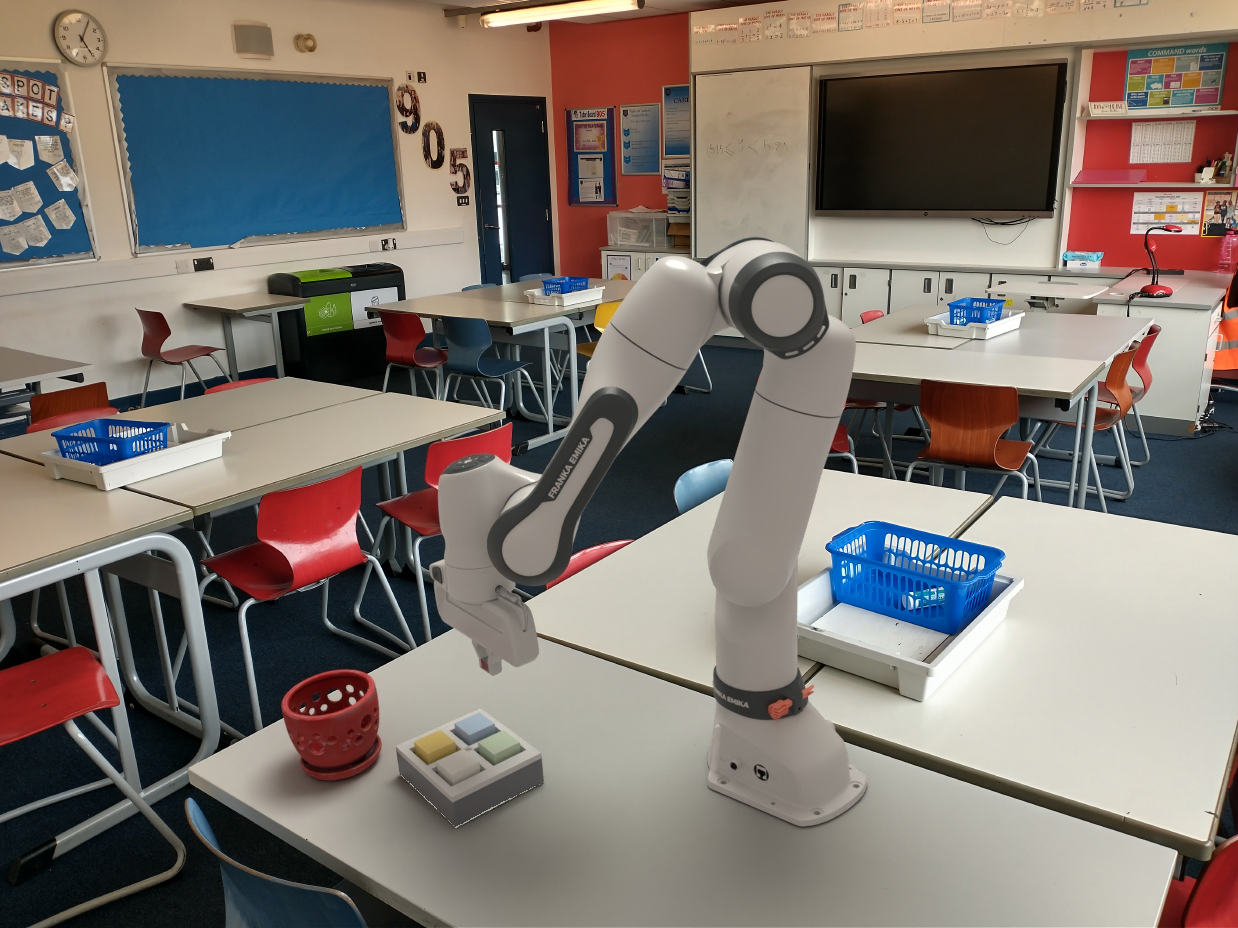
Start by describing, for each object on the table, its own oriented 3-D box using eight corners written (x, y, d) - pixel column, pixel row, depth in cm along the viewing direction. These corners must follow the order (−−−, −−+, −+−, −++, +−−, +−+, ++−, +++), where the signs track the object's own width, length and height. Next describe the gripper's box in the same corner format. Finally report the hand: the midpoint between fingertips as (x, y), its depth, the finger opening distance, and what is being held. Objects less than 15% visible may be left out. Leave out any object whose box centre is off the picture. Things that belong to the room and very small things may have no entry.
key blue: (496, 739, 136) (494, 723, 136) (471, 751, 134) (469, 735, 133) (481, 727, 140) (479, 712, 139) (456, 738, 137) (454, 723, 136)
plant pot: (316, 737, 146) (303, 667, 143) (398, 737, 145) (388, 667, 141) (278, 789, 134) (264, 715, 130) (367, 791, 132) (356, 715, 129)
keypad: (544, 782, 132) (541, 752, 130) (456, 828, 123) (452, 797, 122) (483, 735, 144) (480, 708, 142) (399, 774, 135) (395, 745, 134)
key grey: (481, 778, 128) (479, 761, 127) (454, 791, 125) (451, 774, 124) (465, 764, 131) (463, 748, 130) (438, 777, 128) (436, 761, 128)
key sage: (521, 758, 132) (519, 742, 131) (495, 770, 129) (493, 754, 128) (505, 745, 135) (503, 729, 134) (479, 757, 132) (477, 741, 131)
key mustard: (457, 757, 133) (455, 741, 132) (430, 770, 130) (428, 753, 129) (442, 745, 136) (440, 729, 135) (415, 757, 133) (413, 741, 133)
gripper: (546, 592, 118) (554, 690, 122) (462, 549, 133) (473, 638, 137) (503, 608, 114) (513, 708, 118) (422, 562, 130) (434, 653, 134)
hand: (491, 670), depth 128 cm, fingers closed
